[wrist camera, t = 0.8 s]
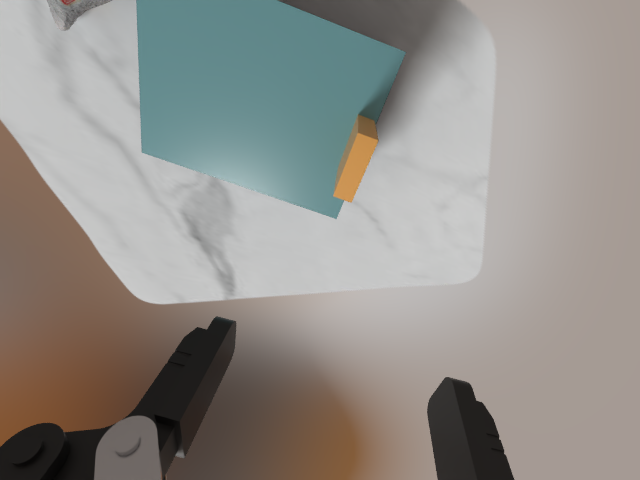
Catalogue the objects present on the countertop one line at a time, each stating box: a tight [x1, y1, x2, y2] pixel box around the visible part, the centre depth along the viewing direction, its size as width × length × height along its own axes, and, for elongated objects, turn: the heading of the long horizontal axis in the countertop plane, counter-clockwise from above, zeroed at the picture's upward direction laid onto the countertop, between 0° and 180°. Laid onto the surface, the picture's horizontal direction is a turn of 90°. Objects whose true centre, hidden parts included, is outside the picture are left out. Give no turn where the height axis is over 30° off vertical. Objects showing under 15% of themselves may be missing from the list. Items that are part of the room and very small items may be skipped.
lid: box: [136, 0, 406, 219], centre depth 19 cm, size 16×12×6 cm
